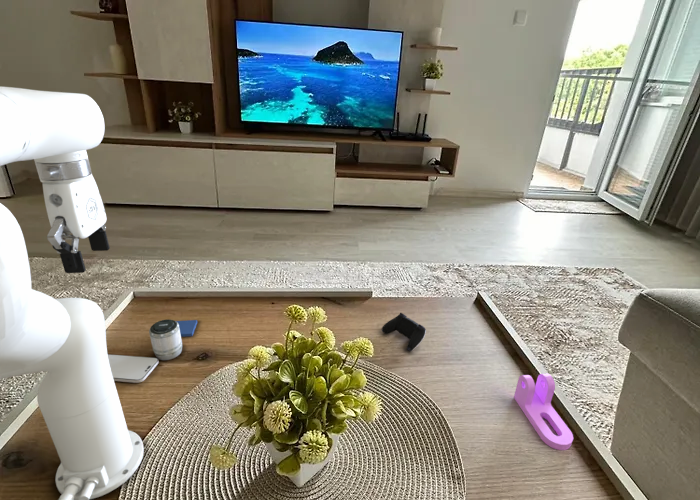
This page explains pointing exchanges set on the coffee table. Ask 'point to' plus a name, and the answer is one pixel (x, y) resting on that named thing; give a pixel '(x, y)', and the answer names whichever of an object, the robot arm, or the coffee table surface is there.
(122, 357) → the smartphone
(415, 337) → the gaming controller
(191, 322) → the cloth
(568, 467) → the coffee table surface
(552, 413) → the bracket
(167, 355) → the camera lens
